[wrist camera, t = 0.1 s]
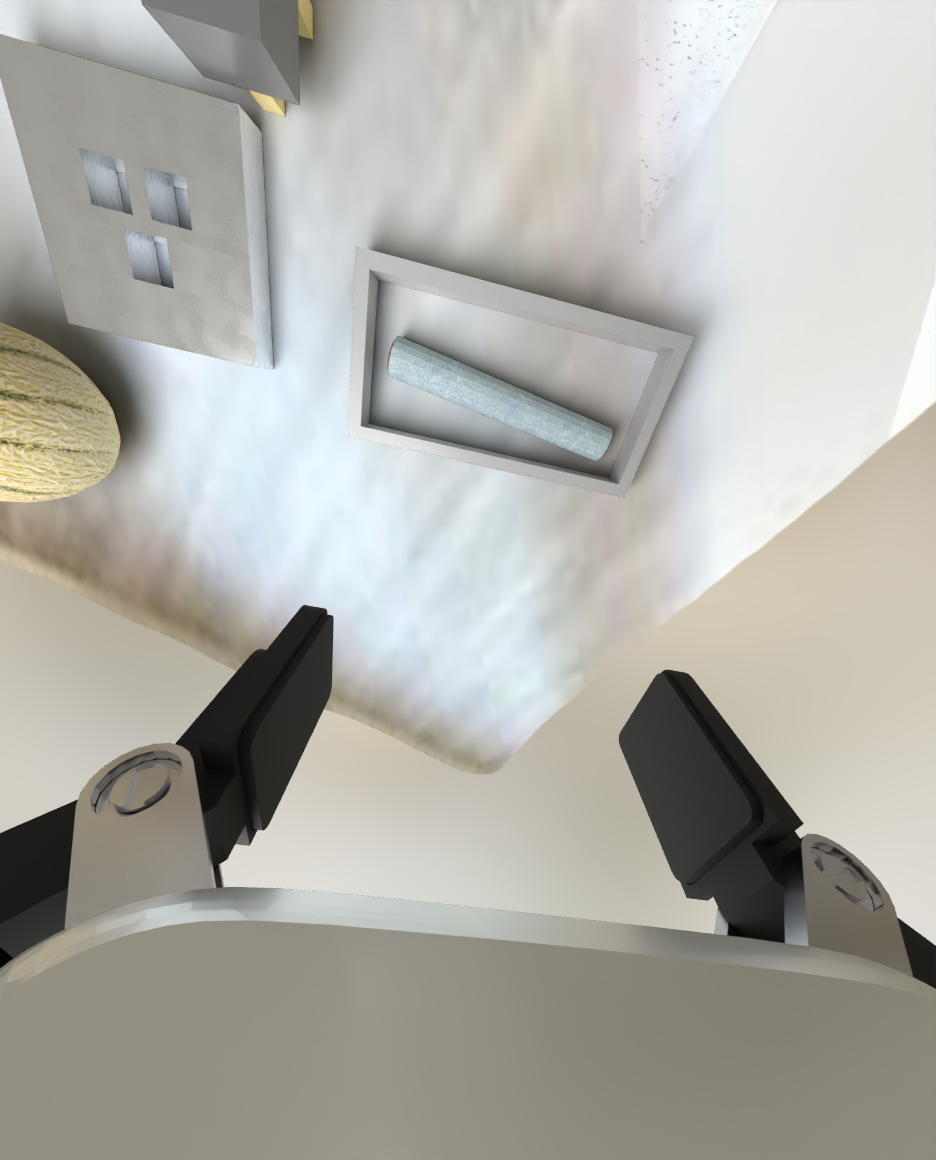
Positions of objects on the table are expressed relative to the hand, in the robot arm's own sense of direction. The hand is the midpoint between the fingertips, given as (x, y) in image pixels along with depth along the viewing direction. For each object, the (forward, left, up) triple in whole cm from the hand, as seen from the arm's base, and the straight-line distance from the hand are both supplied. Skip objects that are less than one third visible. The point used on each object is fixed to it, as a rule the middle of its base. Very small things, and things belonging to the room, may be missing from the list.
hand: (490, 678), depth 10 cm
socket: (-13, -30, -32) cm, 46 cm away
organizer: (-8, +1, -32) cm, 33 cm away
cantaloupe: (+3, -42, -32) cm, 53 cm away
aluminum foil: (-8, +1, -33) cm, 34 cm away
